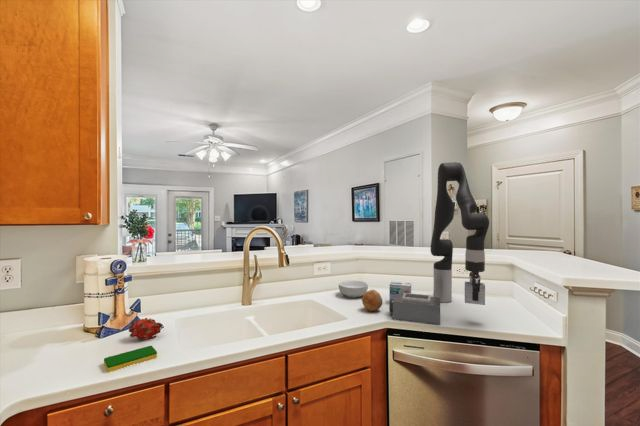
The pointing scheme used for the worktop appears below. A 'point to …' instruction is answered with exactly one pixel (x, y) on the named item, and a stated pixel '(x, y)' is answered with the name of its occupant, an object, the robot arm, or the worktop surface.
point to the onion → (372, 300)
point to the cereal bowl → (353, 288)
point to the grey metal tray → (416, 308)
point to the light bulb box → (399, 289)
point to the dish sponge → (129, 358)
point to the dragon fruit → (145, 328)
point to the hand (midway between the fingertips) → (474, 298)
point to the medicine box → (469, 294)
